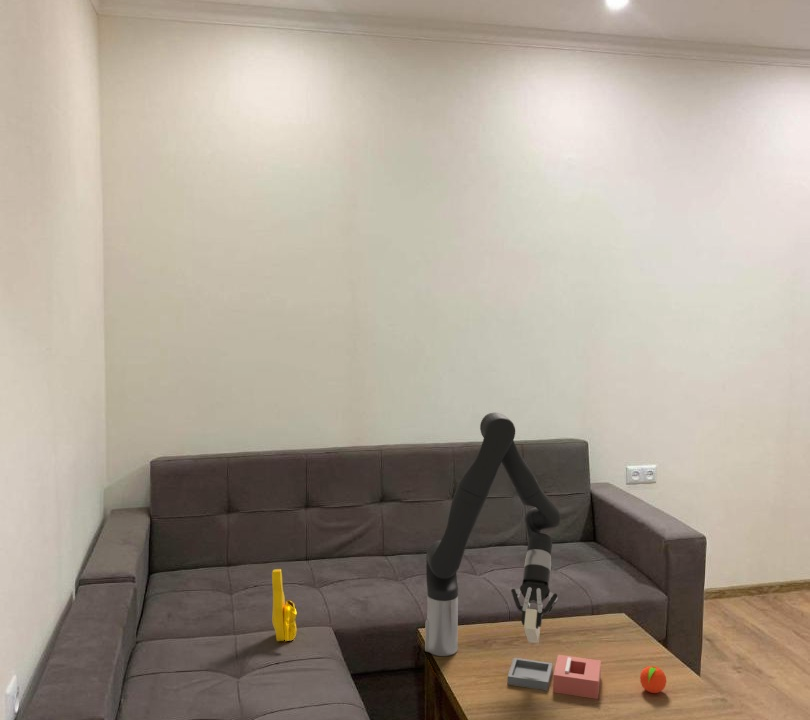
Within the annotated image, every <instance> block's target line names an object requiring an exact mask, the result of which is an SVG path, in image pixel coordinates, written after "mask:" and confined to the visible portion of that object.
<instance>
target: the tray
mask: <svg viewBox="0 0 810 720" xmlns="http://www.w3.org/2000/svg"><path fill="white" fill-rule="evenodd" d="M511 662H512V663H511V665H510V668H509V671H508V675H507V685H510V686H515V687H523V688H527V689H536V690H543V691H549V688H550V683H551V679H552V675H553V672H554V671H553V670H554V669H553V668H554V667H553V665H554V663H553V662H547V661H541V660H540V661H539V660H534V659H533V660H532V659H528V658H527V659H526V658H525V659H524V658H519V657H513V659H512V661H511Z"/></svg>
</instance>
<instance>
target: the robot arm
mask: <svg viewBox="0 0 810 720" xmlns="http://www.w3.org/2000/svg"><path fill="white" fill-rule="evenodd" d="M479 429H480V434H481V436H482V438H483V439H482V442H481V446H480V449H479V451H478V454H477V456H476V458H475V459H474V461H473V462H472V463H471V465H470V466H469V467H468V469H467V470H466V471H465V473H464V474H463V476H462V477H461V479H460V480H459V483H458V485H457V487H456V490H455V492H454V494H453V496H452V500H451V504H450V507H449V514H448V519H447V525H446V528H445V531H444V534H443V536H442V538H441V539H438V540H435V541H434V542H433V543H431V544H429V547H428V548H427V551H426V561H425V563H426V567H425V568H426V570H425V571H426V589H427V590H426V591H427V592H426V594H427V599H426V600H427V602H426V604H427V607H426V610H427V614H426V616H427V617H426V619H425V621H424V622H425V624H424V626H425V628H424V632H425V633H424V641H425V642H424V651H425V652H427V653H430V654H432V656H433V655H434V656H438V657H448V656H452V655H454V654H456V653H457V651H458V642H459V641H458V635H459V634H458V632H459V631H458V629H459V628H458V627H459V625H458V624H459V623H458V622H459V621H458V617H459V615H458V614H459V611H458V610H459V607H458V606H459V585H458V577H457V572H458V571H459V568H460V567H461V563H462V560H463V557H464V553H465V550H466V547H467V544H468V541H469V539H470V536H471V534H472V531H473V530H474V527H475V525H476V524H477V522H478V521H477V520H478V519H479V516H480V515H481V514H480V513H481V512H482V511H483V508H484V505H485V504H486V501H487V499H488V497H489V493H490V491H491V488H492V485H493V484H494V481H495V478H496V476H497V474H498V470H499V468H500V466H501V465H502V466H503V467H504V470H505V472H506V474H507V476H508V478H509V480H510V482H511V484H512V487H513V489H514V490H515V492H516V494H517V496H518V498H519V500H520V501H521V503H522V504H523V505H525V506H527V507H528V506H529V507H532V508H530V509H528V511H527V512H526V513H525V514H526V515H525V517H524V519H525V528H526V532H527V539H528V541H527V549H526V556H525V560H524V566H523V576H522V584H521V585H520V587H519V588H516V589H515V588H512V589H511V590H510V593H511V594H512V598H513V602H514V605H515V607H516V609H517V612H519V613H520V612H521V613H522V614H521V624H522V625H523V626H524V623H525V614H526V609H530V606H531V604H536V606H537V612H538V613H537V621H536V628H537V629H538V628H539V627H540V628H541V626H542V622H543V616H545V615H547V616H548V615H549V614H550V613H551V611H552V610H553V608H554V607H555V605H556V603H557V602H558V601H559V600H558V599H559V597H558V593H553V592H551V591H550V580H551V579H550V577H551V571H552V567H551V566H552V549H553V548H552V547H553V539H552V537H551V536H550V535H549V534H548V533H547V534H546V533H544V532H543V533H542V531H544V530H545V531H546V530H551V529H555V528H558V527H559V526H560V524H561V520H562V519H561V513H560V510H559V508H558V507H557V506H556V504H555V503H554V502H553V501H552V500H551V499H550V498H549V497H548V495H546V493H545V492H544V491H543V489H542V488H541V486H540V485H539V483H538V480H537V478H536V476H535V475H534V473H533V471H532V470H531V468H530V467H529V465H528V463H527V462H526V461H525V460H524V457H523V456H522V454H521V453H520V451H519V449H518V448H517V445H516V443H515V441H514V439H515V437H516V427H515V424H514V423H513V421H512V420H511V419H509V418H508V417H507V416H506V415H504V414H502V413H500V412H490V413H487V414H486V415H485V416H483V418H482V419H481V421H480V424H479ZM520 595H522V597H523V598H524V601H523V605H521V603H520V600H519V598H520ZM547 598H548V602H547V603H546V606H545V607H543V602H544V601H546V599H547Z"/></svg>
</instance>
